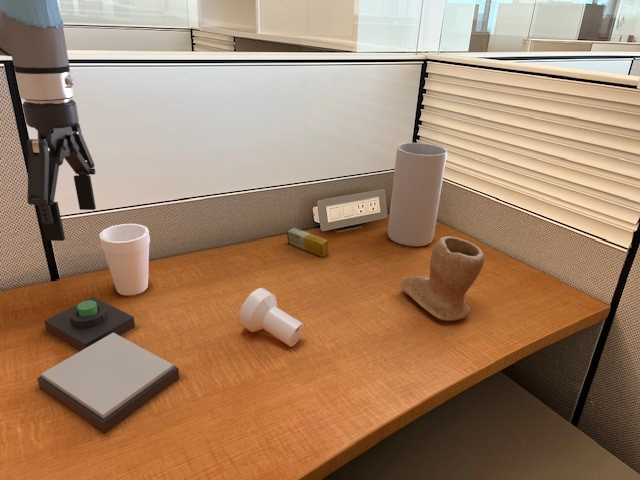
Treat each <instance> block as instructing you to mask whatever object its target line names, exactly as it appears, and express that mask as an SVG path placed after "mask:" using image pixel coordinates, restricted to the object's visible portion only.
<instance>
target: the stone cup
mask: <svg viewBox="0 0 640 480" xmlns="http://www.w3.org/2000/svg"><path fill="white" fill-rule="evenodd" d="M484 263H485V255H484V252H483V251H482V249H481V248H480V247H479V246H477V245H476V244H474V243H472V242H470V241H468V240H465V239H463V238H459V237H456V236H450V235H446V236H442V237H440V238H439V239H438V240H437V241H436V242H435V243H434V245H433V247H432V251H431V255H430V260H429V277H427V276H423V275H413V276H408V277H406V278H403V279H402V280H400V281H399V283H398V286H399V288H401V289H402V290H403V291H404V292H405V293H406V294H407V296H409V297H410V298H411V299H412V300H413V301H414V302H415V303H416V304H417V305H419V306H420V307H421V308H423V309H424V310H425V311H426V312H428V313H429V314H430V315H432V316H433V317H434V318H435V319H438V320H441V321H446V322H451V321H459V320H462V319H465V318H467V317H468V316H469V315H470V314H471V313H472V309H471V307H470V306H469V304H468V303H467V302H466V300H465V296H466V294H467V292H468V291H469V289H470V288H471V287H472V286H473V284H474V283H475V281H476V280H477V278H478V277H479V275H480V273H481V271H482V269H483V266H484Z"/></svg>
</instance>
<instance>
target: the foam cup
mask: <svg viewBox="0 0 640 480" xmlns="http://www.w3.org/2000/svg"><path fill="white" fill-rule="evenodd" d="M99 242H100V248H101V250H102V251H103V253H104V257H105V260H106V264H107V266H108V269H109V272H110V275H111V278H112V281H113V285H114V287H115V290H116V292H117V293H118V294H120V295H122V296H135V295H138V294H141V293H143V292H144V291H147V288H148V287H149V266H150V265H149V264H150V263H149V262H150V260H149V259H150V243H151V237H150V231H149V228H148V227H147V226H146V225H143V224H138V223H121V224H116V225H112V226H109V227H107V228H104V229H103V230H102V231H100V233H99Z"/></svg>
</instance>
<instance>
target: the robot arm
mask: <svg viewBox="0 0 640 480" xmlns="http://www.w3.org/2000/svg"><path fill="white" fill-rule="evenodd" d="M0 56H2V57H3V56H4V57H11V61H12V64H13V68H14V73H15V78H16V83H17V88H18V92H19V97H20V99H22V100H25V101H24V102H23V103H22V111H23V114H24V120H25V123H26V125H27V126H28V127H29V128H33V129H35V130H36V131H37V138H34V139H33V138H28V139H27V140H26V147H27V154H28V163H27V164H28V167H27V198H26V199H27V204H28V205H29V206H32V205H33V206H38V207H37V208H38V211H39V215H40V221H41V224H42V229H43V233H44V237H45V240H46V241H48V242H49V241H51V242H52V241H53V242H63V241H65V240H66V236H65V231H64V227H63V221H62V217H61V212H60V211H61V210H60V208H59V202H58V201H55V198H56V191H57V183H58V177H59V170H60V166H62V165H63V164H64V160H65V161H66V163H67V164H68V165H69V166H70V168H71V169H72V171H73V172H74V174H75V175H73V181H74V186H75V191H76V192H75V193H76V197H77V201H78V206H79V207H78V209H79V210H80V211H95V210H96V209H97V207H96V201H95V194H94V189H93V184H92V178H91V175H96V168H95V163H94V160H93V157H92V155H91V152H90V150H89V147H88V145H87V143H86V141H85V139H84V135H83V133H82V128H81V123H80V122H79V121H80V119H79V114H78V113H79V112H78V107H77V103H76V101H75V100H73V97H74V96H75V92H74V87H73V85H74V84H75V80H74V78H72V75H71V69H70V62H69V56H68V50H67V44H66V36H65V31H64V21H63V18H62V16H61V11H60V7H59V3H58V0H0Z"/></svg>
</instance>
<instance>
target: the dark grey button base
mask: <svg viewBox="0 0 640 480" xmlns="http://www.w3.org/2000/svg"><path fill="white" fill-rule="evenodd" d="M87 300H92V301H95V302H96V304H97V309H98V312H97V314H95V315H93V316H90V317H80V316H79V314H78V309H77V305H78V304H79V303H77V304H74V305H73V306H71V307H68V308H67V309H65V310H62V311H61V312H59V313H57V314H54V315H52V316H51V317H49V318H46V319H44V326H45V329H46V332H47V333H49V334H51V335H53V336H54V337H55V338H58V339H60V340H61V341H63V342H64V343H66V344H68V345H70V346H71V347H73V348H75V349H76V350H78V351H79V352H80V351H82V350H83V349H85V348H87V347H89V346H90V345H92V344H94V343H96V342H97V341H99V340H101V339H103V338H104V337H106V336H108V335H110V334H111V333H115V334H117V335H119V336H121V337H122V335H124V334H126V333H127V332H129V331H131V330H133V329H134V328H136V325H135V318H134V316H133V315H131V314H129V313H127V312H125V311H123V310H121V309H119V308H117V307H115V306H113V305H111V304H109V303H107V302H105V301H103V300H101V299H99V298H97V297H94V296H92V297H89V298H88V299H86V300H84V301H87Z"/></svg>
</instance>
